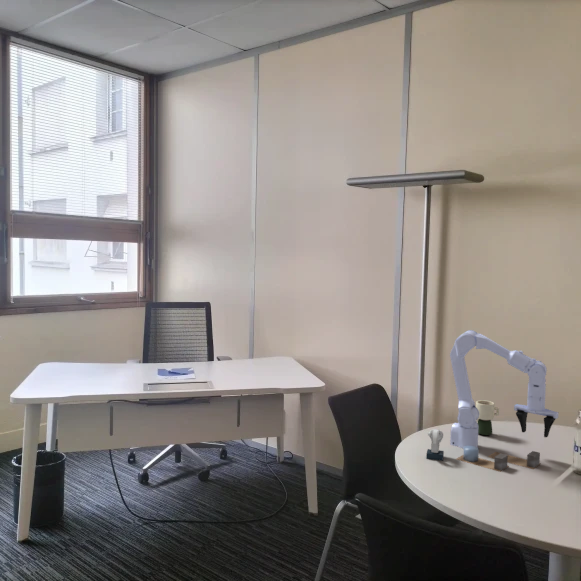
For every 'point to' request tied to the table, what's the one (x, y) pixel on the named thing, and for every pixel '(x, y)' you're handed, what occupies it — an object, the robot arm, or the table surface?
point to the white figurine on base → (435, 445)
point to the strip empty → (531, 461)
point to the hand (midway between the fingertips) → (534, 434)
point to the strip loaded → (497, 465)
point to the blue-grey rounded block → (471, 454)
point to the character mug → (485, 416)
